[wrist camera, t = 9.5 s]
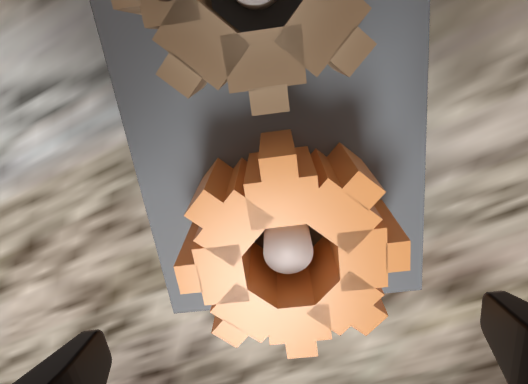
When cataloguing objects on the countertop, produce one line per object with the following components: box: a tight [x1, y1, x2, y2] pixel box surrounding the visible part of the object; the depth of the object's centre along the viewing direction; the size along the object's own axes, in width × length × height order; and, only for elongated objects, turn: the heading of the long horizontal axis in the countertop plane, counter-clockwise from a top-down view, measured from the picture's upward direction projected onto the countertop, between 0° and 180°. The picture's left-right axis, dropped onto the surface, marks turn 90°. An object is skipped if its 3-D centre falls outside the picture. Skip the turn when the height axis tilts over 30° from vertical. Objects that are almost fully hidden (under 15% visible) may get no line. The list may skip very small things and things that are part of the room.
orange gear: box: [173, 129, 411, 359], centre depth 13 cm, size 7×7×3 cm
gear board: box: [90, 0, 430, 313], centre depth 12 cm, size 15×10×4 cm, turn 7°
